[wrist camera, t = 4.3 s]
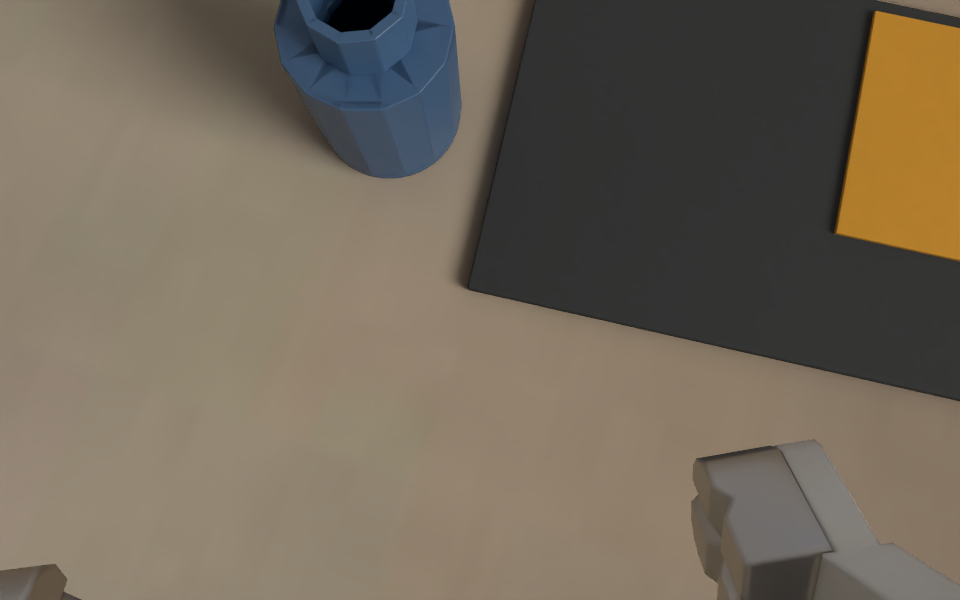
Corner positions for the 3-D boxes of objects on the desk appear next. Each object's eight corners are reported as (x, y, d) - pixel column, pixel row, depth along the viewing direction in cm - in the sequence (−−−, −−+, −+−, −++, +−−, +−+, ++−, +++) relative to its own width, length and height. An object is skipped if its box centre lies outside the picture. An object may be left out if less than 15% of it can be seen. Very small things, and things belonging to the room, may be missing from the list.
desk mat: (467, 289, 28) (467, 287, 28) (550, -62, 30) (551, -72, 29) (1063, 424, 28) (1076, 425, 27) (1113, 55, 29) (1126, 48, 29)
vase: (306, 163, 29) (232, 59, 21) (341, 32, 30) (283, -121, 21) (442, 193, 29) (423, 101, 20) (474, 60, 29) (469, -82, 21)
